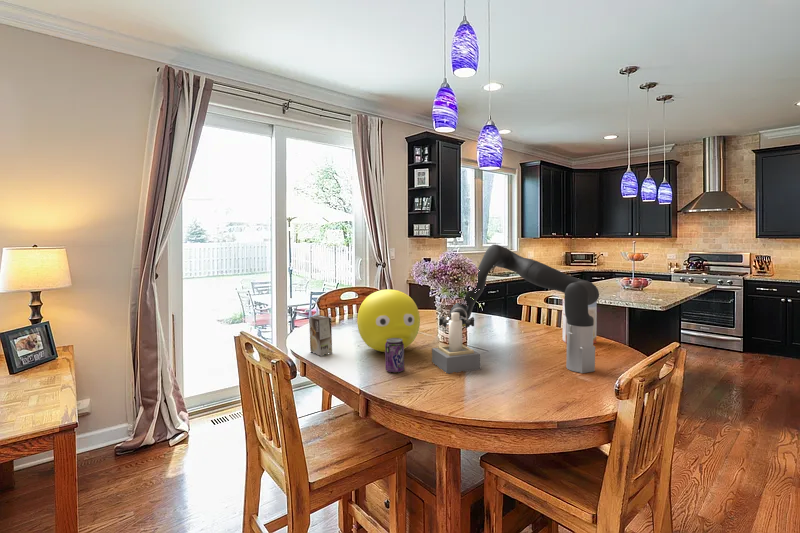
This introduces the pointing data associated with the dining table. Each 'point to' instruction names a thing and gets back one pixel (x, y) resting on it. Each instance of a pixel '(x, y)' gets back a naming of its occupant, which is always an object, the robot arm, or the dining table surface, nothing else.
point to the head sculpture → (388, 318)
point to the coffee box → (320, 335)
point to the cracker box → (592, 312)
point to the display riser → (455, 359)
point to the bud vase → (455, 333)
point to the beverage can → (394, 355)
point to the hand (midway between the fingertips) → (455, 325)
